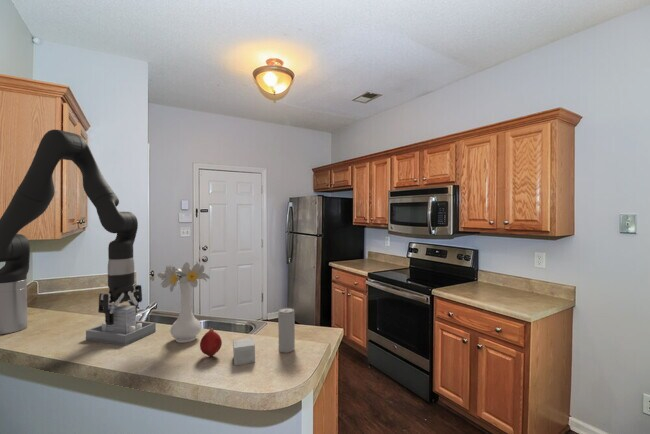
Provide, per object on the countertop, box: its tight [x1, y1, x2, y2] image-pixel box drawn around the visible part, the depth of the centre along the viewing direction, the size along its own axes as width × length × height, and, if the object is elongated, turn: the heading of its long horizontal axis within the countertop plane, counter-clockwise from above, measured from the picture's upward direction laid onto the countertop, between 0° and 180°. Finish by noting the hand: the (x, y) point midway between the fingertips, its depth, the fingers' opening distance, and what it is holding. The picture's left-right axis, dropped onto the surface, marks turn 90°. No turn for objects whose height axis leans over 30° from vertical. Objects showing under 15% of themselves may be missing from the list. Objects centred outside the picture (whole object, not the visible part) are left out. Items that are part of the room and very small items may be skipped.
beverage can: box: [277, 307, 296, 354], centre depth 96 cm, size 5×5×12 cm
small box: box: [232, 337, 256, 366], centre depth 90 cm, size 6×6×5 cm
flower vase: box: [157, 261, 211, 344], centre depth 104 cm, size 13×18×25 cm
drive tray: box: [85, 320, 157, 346], centre depth 107 cm, size 16×12×4 cm
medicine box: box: [106, 304, 137, 335], centre depth 107 cm, size 8×4×9 cm, turn 80°
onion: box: [199, 328, 223, 358], centre depth 92 cm, size 6×6×8 cm
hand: (121, 320), depth 107 cm, fingers open, 8 cm apart
